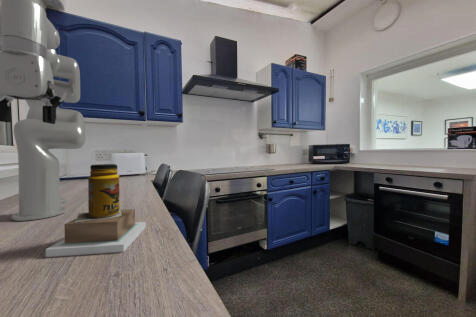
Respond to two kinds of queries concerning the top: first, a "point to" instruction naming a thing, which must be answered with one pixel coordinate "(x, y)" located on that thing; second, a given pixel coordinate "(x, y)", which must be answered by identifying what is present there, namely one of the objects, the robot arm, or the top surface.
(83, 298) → the top surface
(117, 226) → the base block
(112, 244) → the build board
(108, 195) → the condiment
